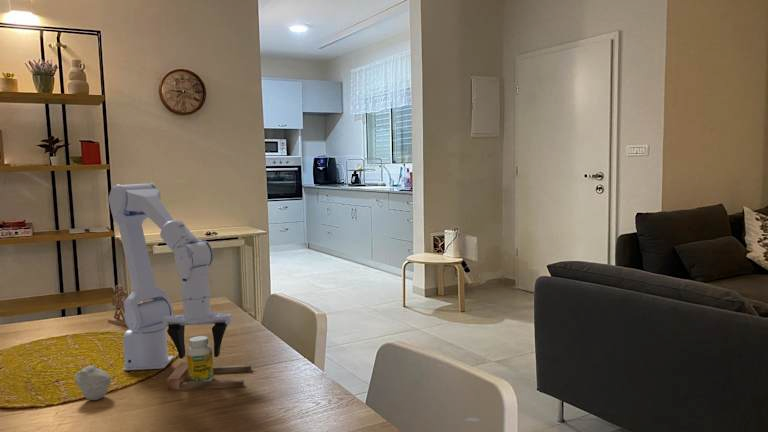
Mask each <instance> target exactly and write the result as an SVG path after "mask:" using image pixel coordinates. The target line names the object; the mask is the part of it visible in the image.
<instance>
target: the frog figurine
mask: <svg viewBox="0 0 768 432" xmlns="http://www.w3.org/2000/svg"><path fill="white" fill-rule="evenodd" d="M74 379H75V383H76V386H77V387H78V388H79V390H80V391H81V392H82V395H83V396H84V398H86V399H87V400H91V401H97V400H100V399H102V398H104V397H105V396H106V395H107V393H108V391H109V387H110V385H111V383H112V378H111V374H109V373H107V372H106V371H105V370H103V369H101V368H97V366H94V365H87V366H85V367H83V368H82V369H81V370H80V371H77V373H75V375H74Z"/></svg>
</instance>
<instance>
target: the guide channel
mask: <svg viewBox="0 0 768 432" xmlns="http://www.w3.org/2000/svg"><path fill="white" fill-rule="evenodd" d="M251 371H252V364H238V365H237V364H236V365H216V366H214V365H213V374H221V373H222V374H226V373H247V372H251ZM187 380H189V376H188V362H187V361H181V362H180V363H179V365H177V366H176V368H175V369H174V370H173V371H172V372H171V374H170V375H169V376H168V377H167V379H166V386H167V391H185V390H186V391H187V390H206V389H209V390H210V389H226V388H228V389H229V388H230V387H231V388H243V387H244V386H245V385H244V384H245V379H227V380H226V379H225V380H223V379H221V380H211V381H200V382H189V381H187Z"/></svg>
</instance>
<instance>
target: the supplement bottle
mask: <svg viewBox="0 0 768 432" xmlns="http://www.w3.org/2000/svg"><path fill="white" fill-rule="evenodd" d="M188 342H189V343H188V345H189V348H188V349H187V351H186V359H187V361H186V362H188V376H189V378H188V382H200V381H213V379H214V376H215V375H214V374H215V373H213V366H214V361H213V349H212V347H211V346H210V345H209V337H208V336H204V335H199V336H194V337H191V338H189V340H188Z"/></svg>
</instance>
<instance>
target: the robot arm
mask: <svg viewBox="0 0 768 432" xmlns="http://www.w3.org/2000/svg"><path fill="white" fill-rule="evenodd" d="M161 196H162V195H161V190H159V188H158V186H157V185H156V184H155V183H153V182H147V183H136V184H135V183H133V184H119V183H118V184H115V185H113V186H112V188H111V190H110V192H109V195H108V203H109V207H110V212H111V215H112V219H113V221H114V222H116V223H117V226H118V230H119V234H120V239H121V243H122V248H123V251H124V252H123V254H124V257H125V261H126V265H127V266H126V267H127V270H128V275H129V278H130V283H131V288H132V291H131V293H130V294H129V295H128V298H127V299H126V300H125V299H124V300H125V302H124V309H125V314H124V313H123V315H124V318H125V323H126V327H127V328H128V329H127V330H126V331H125V333H124V335H123V338H122V339H123V341H122V350H123V362H124V367H123V371H138V370H141V371H142V370H159V369H160V370H162V369H165V368H166V367H167V366H168V364H170V362H171V361H172V360H173V359H174V355H168V354H169V353H168V352H169V351H168V339H167V335H168V336H169V337H170V339H171V340H172V343H173V344H174V346H175V348H176V351H177V353H178V357H179V359H183V358H185V357H186V346H185V345H186V344H185V326H196V325H199V326H201V325H203V326H204V325H213V326H212V328H211V333H212V336H213V337H212V338H213V355H214V358H218V357H219V356H220V355H221V346H222V341H223V338H224V335H225V333H226V329H227V328H228V325H231V324H232V322H233V320H232V316H233V315H232V313H218V312H216V313H215V312H211V311H212V310H211V296H210V293H211V292H210V279H209V278H210V276H209V275H210V273H209V266H211V265H212V264H213V261H214V250H213V248H212V246H211V244H210V243H209V241H207V240H202V239H200V238H197V237H196V236H195V235H194V233H192V231H191V230H190V229H189V228H188V227H187V226H186V224H185V223H184V222H183V221H182V220H179V219H174V218H173V217H172V215H171V213H170V212H169V211H168V209H167V208H166V207H165V205H164V203H163V202H162V201H161ZM147 218H149V219H150V220H151V221H152V222H153V223H154V224H155V225H156V226H157V227H158V228H159V229H160V233H159V235H160V238H161V239H162V240H163V242H164V243H165V244H166V245H167V246H168V248H169V249H170V251H172V253H173V254H174V259H173V260H174V263H175V265H176V267H177V271H178V276H179V278H181V290H182V307H183V309H182V310H183V314H177V315H174V308H173V305H172V303H171V301H170V300H169V297H168V293H167V292H166V291H165V290H164V289H161V288H160V287H158V286H156V282H155V278H154V277H155V276H154V272H153V268H152V264H151V261H150V260H151V259H150V255H149V250H148V247H147V242H146V238H145V232H144V229H143V223H144V221H145V220H146V219H147ZM148 300H150V301H148ZM143 301H144V302H143ZM167 327H168V329H167Z"/></svg>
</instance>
